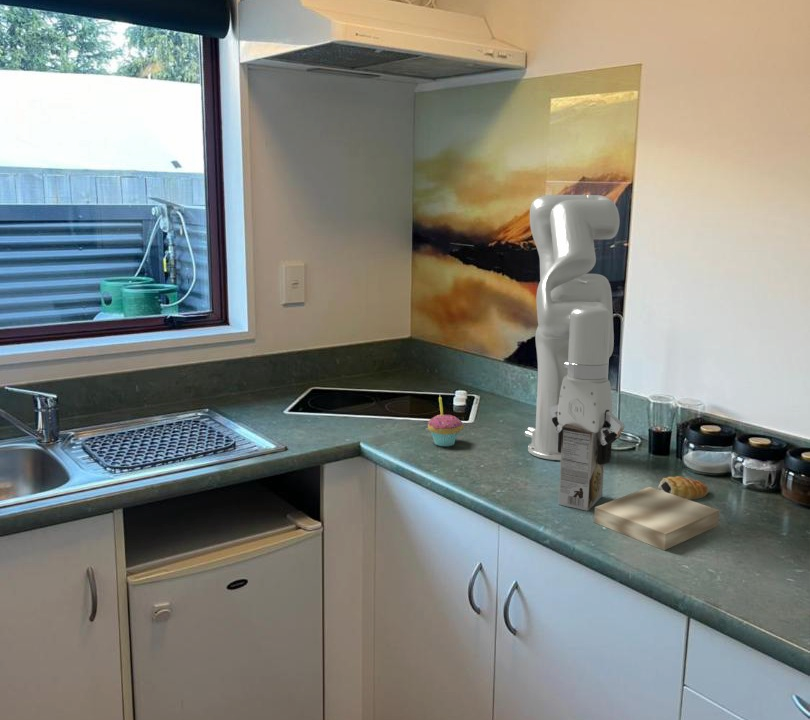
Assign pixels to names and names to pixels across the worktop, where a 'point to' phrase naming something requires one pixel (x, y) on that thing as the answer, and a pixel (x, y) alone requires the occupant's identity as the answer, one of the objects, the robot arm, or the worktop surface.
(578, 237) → the robot arm
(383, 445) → the worktop surface
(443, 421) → the cupcake
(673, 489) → the pastry
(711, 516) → the birch base
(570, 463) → the coffee box
